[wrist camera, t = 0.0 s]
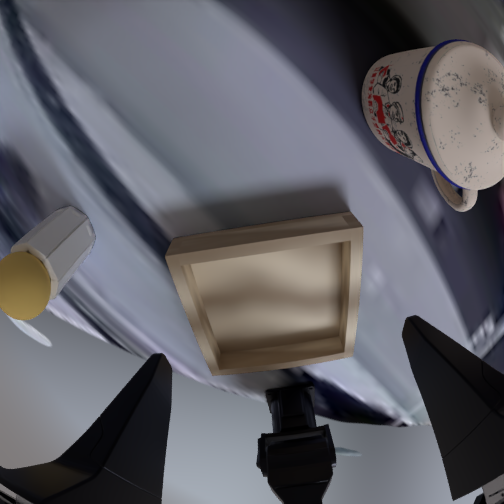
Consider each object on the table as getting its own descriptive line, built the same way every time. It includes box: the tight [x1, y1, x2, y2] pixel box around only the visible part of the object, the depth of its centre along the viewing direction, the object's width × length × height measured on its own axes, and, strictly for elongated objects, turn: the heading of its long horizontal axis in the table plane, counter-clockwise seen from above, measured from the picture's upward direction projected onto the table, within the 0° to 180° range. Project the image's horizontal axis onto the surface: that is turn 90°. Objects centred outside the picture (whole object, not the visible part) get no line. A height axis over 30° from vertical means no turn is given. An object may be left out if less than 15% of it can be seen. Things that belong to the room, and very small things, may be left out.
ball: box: [0, 252, 51, 320], centre depth 16 cm, size 5×5×5 cm
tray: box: [165, 212, 363, 376], centre depth 26 cm, size 15×15×3 cm
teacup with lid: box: [362, 39, 504, 212], centre depth 14 cm, size 12×9×12 cm
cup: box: [11, 206, 96, 300], centre depth 20 cm, size 5×5×7 cm
